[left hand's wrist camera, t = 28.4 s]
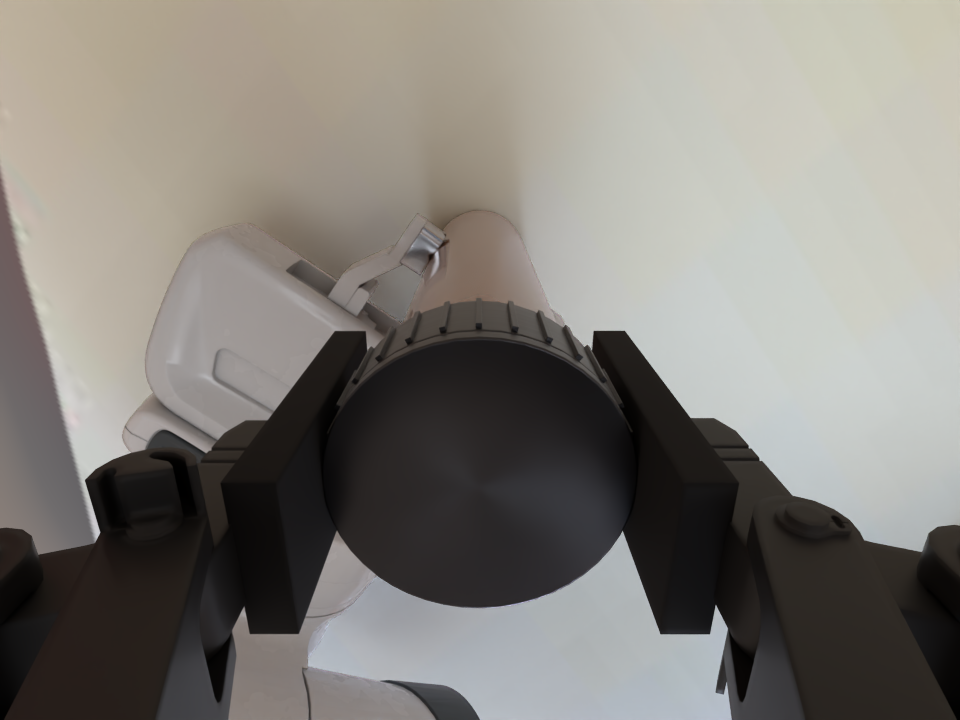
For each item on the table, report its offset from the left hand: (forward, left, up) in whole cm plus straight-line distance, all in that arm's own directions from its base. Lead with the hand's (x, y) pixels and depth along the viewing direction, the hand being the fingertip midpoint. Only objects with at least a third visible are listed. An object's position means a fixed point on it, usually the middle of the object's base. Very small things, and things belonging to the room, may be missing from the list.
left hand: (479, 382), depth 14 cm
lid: (0, 0, +4) cm, 4 cm away
